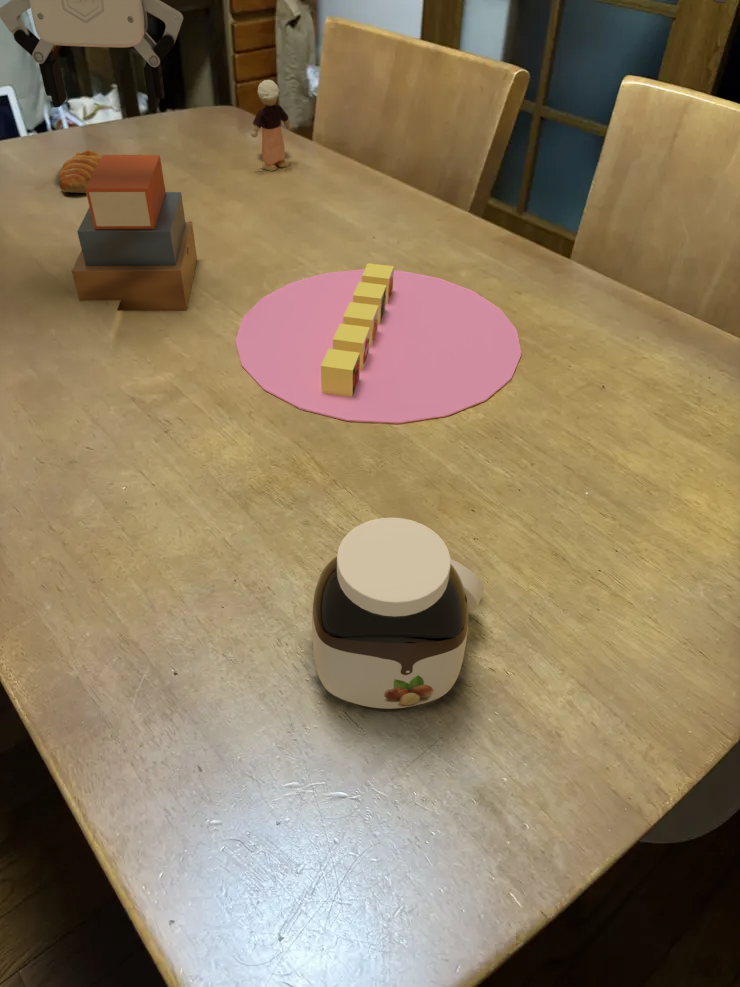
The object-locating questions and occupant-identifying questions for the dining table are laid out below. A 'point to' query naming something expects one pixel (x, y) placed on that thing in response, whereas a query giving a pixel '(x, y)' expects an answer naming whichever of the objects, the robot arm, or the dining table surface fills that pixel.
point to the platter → (378, 345)
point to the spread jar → (392, 617)
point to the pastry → (78, 171)
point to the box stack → (139, 261)
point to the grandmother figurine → (271, 126)
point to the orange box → (126, 192)
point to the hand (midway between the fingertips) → (107, 104)
